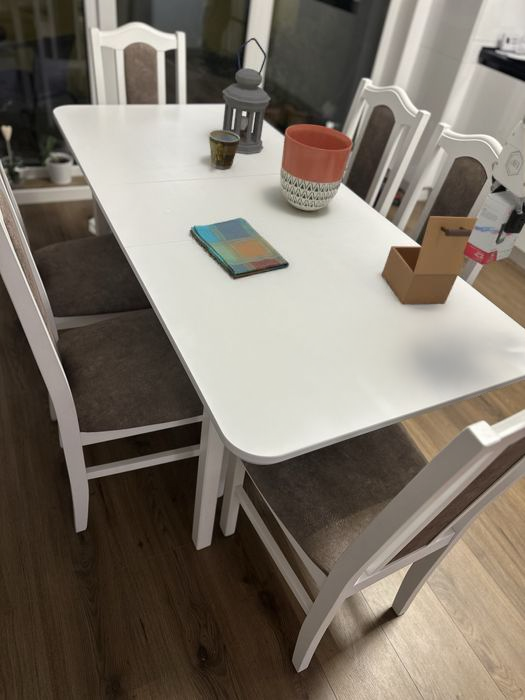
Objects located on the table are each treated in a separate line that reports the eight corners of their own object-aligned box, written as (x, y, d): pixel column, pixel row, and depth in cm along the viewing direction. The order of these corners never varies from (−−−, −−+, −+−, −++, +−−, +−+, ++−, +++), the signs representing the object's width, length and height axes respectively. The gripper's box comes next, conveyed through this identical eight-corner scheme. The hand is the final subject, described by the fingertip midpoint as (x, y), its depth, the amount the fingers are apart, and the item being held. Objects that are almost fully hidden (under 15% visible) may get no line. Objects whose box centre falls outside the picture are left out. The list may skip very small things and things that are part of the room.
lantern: (264, 141, 204) (280, 37, 182) (260, 157, 191) (277, 48, 169) (221, 133, 204) (231, 28, 181) (214, 149, 191) (224, 38, 168)
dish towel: (243, 224, 153) (244, 215, 151) (290, 267, 139) (291, 258, 137) (188, 233, 144) (189, 224, 142) (232, 280, 130) (233, 271, 129)
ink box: (480, 266, 99) (509, 207, 91) (459, 252, 102) (485, 194, 94) (509, 257, 103) (538, 200, 95) (488, 244, 106) (515, 188, 98)
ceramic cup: (211, 157, 185) (214, 127, 179) (239, 163, 185) (243, 134, 178) (200, 171, 175) (202, 140, 169) (230, 177, 175) (233, 147, 168)
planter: (310, 188, 178) (325, 122, 164) (347, 216, 166) (366, 147, 152) (261, 195, 168) (272, 126, 154) (297, 225, 157) (312, 153, 143)
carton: (381, 274, 143) (391, 246, 138) (422, 274, 146) (433, 246, 141) (402, 304, 134) (413, 275, 128) (445, 303, 137) (458, 275, 131)
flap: (429, 216, 121) (439, 222, 117) (476, 217, 124) (487, 223, 121) (413, 273, 128) (422, 281, 125) (457, 273, 131) (468, 281, 128)
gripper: (499, 101, 91) (459, 200, 103) (563, 141, 79) (509, 247, 91) (535, 105, 93) (492, 201, 105) (604, 144, 81) (546, 247, 93)
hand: (500, 221), depth 98 cm, fingers closed on ink box, 6 cm apart
